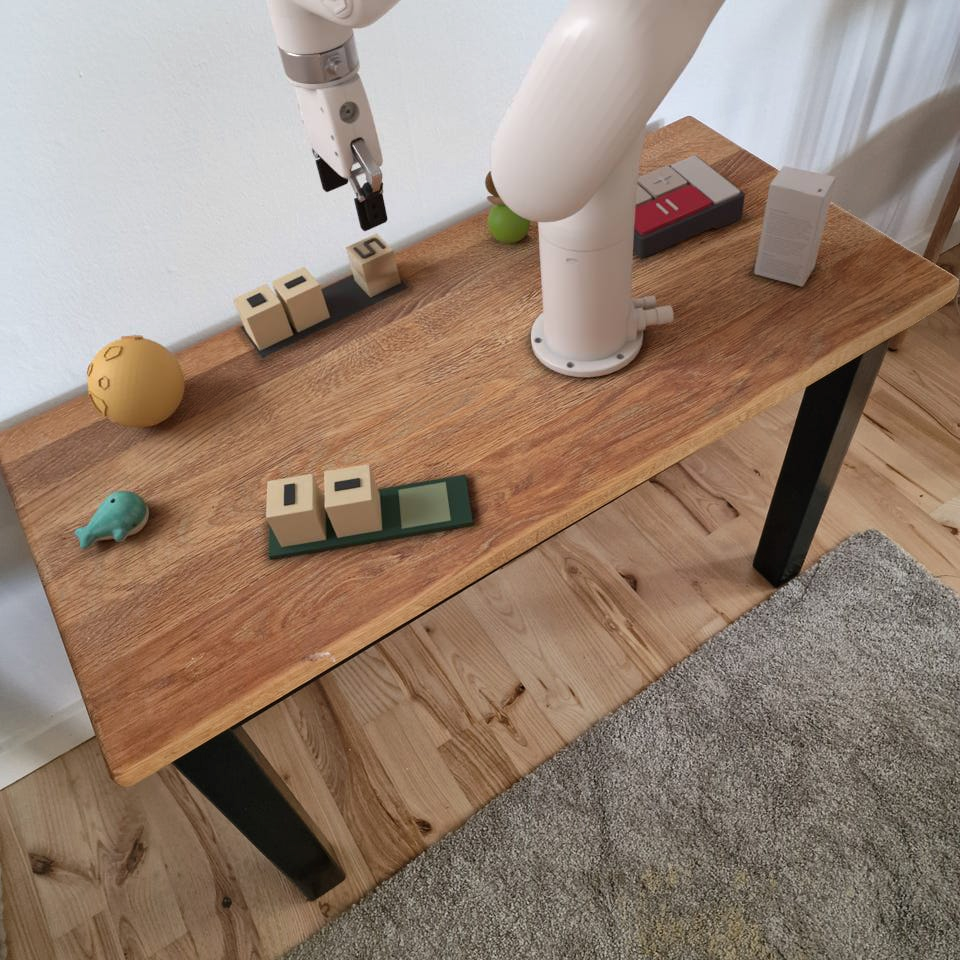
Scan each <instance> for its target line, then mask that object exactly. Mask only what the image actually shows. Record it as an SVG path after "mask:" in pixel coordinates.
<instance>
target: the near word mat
mask: <svg viewBox="0 0 960 960" xmlns="http://www.w3.org/2000/svg"><path fill="white" fill-rule="evenodd" d="M323 475H324V476H323V477H324V480H323V481H324V484H323V485H324V497H323V495H322V492H321V489H320V488H319V485H318V483H317V480H316V478H315V476H314V474H313V473H308V474H302V475H296V476H295V475H294V476H290V477H285V478H279V479H273V480H267V483H266V510H265V511H266V512H265V519H266V520H267V522H268V524H269V528H268V529H269V533H268V555H267V556H268V559H269V560H270V561H271V560H277V559H282V558H289V557H295V556H301V555H306V554H312V553H319V552H324V551H331V550H337V549H342V548H348V547H354V546H361V545H366V544H371V543H378V542H384V541H389V540H395V539H400V538H406V537H407V538H408V537H413V536H419V535H424V534H430V533H434V532H435V533H436V532H441V531H449V530H454V529H459V528H467V527H472V526H474V518H473V512H472V505H471V498H470V493H469V486H468V481H467V479H468V478H467V475H466V474H459V475H454V476H453V475H452V476H449V477H442V478H437V479H431V480H430V479H429V480H425V481H419V482H413V483H406V484H400V485H395V486H390V487H383V488H378V485H377V482H376V480H375V476H374V474H373V470H372V467H371V464H370V463H366V464H359V465H354V466H348V467H343V468H337V469H331V470H326V471H325V470H324V472H323Z"/></svg>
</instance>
